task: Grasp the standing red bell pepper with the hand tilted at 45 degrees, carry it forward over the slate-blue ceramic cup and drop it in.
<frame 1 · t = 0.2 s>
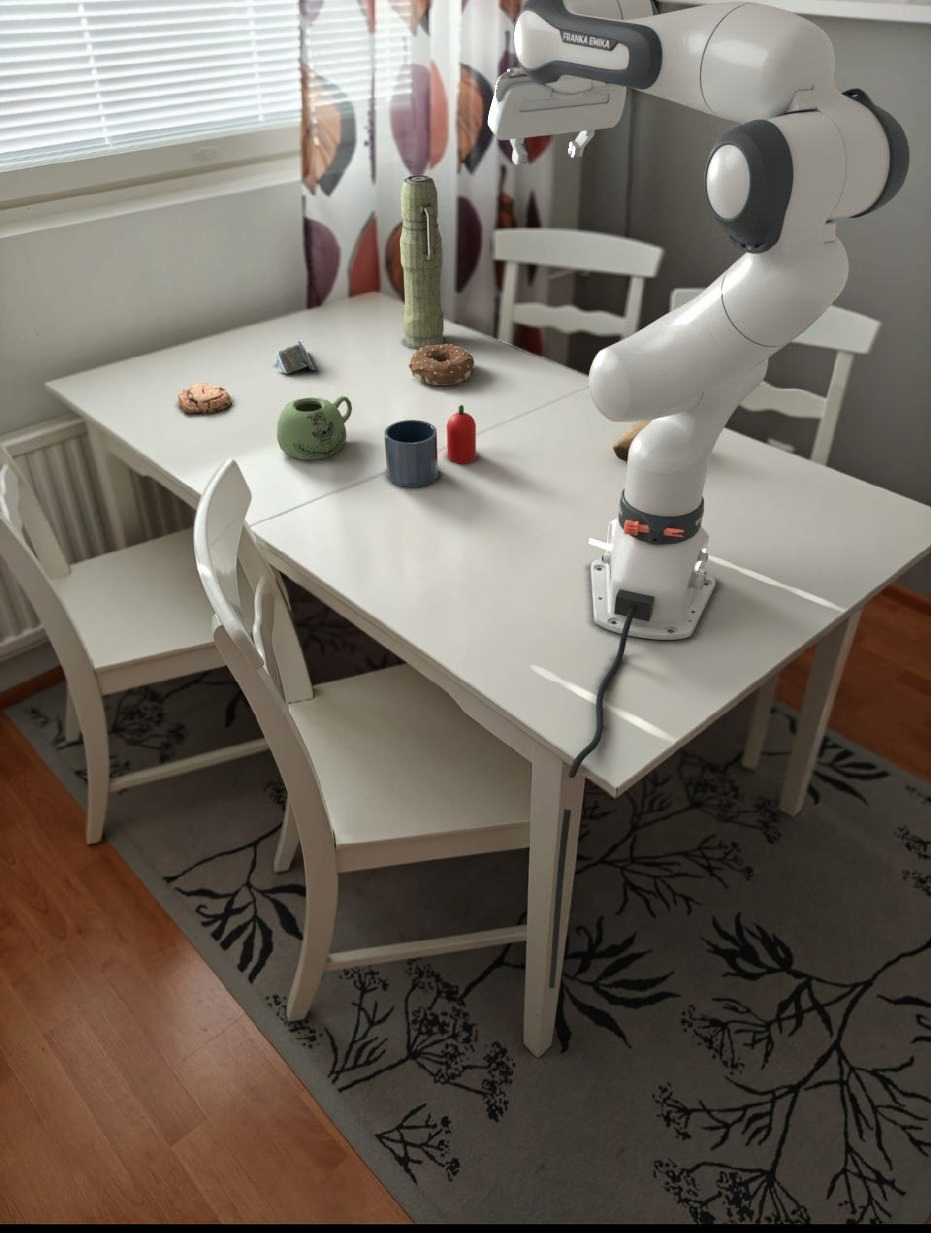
hand: (546, 158, 147), 52 cm above the table, tool tilted 20°, fingers open, 8 cm apart
pepper: (461, 456, 183), on the table
mug: (319, 445, 187), on the table
cookie: (205, 404, 201), on the table
cup: (412, 474, 178), on the table
grey blocky piece: (293, 365, 216), on the table
vegetable: (652, 458, 182), on the table
donut: (442, 377, 211), on the table
thermos: (424, 342, 226), on the table
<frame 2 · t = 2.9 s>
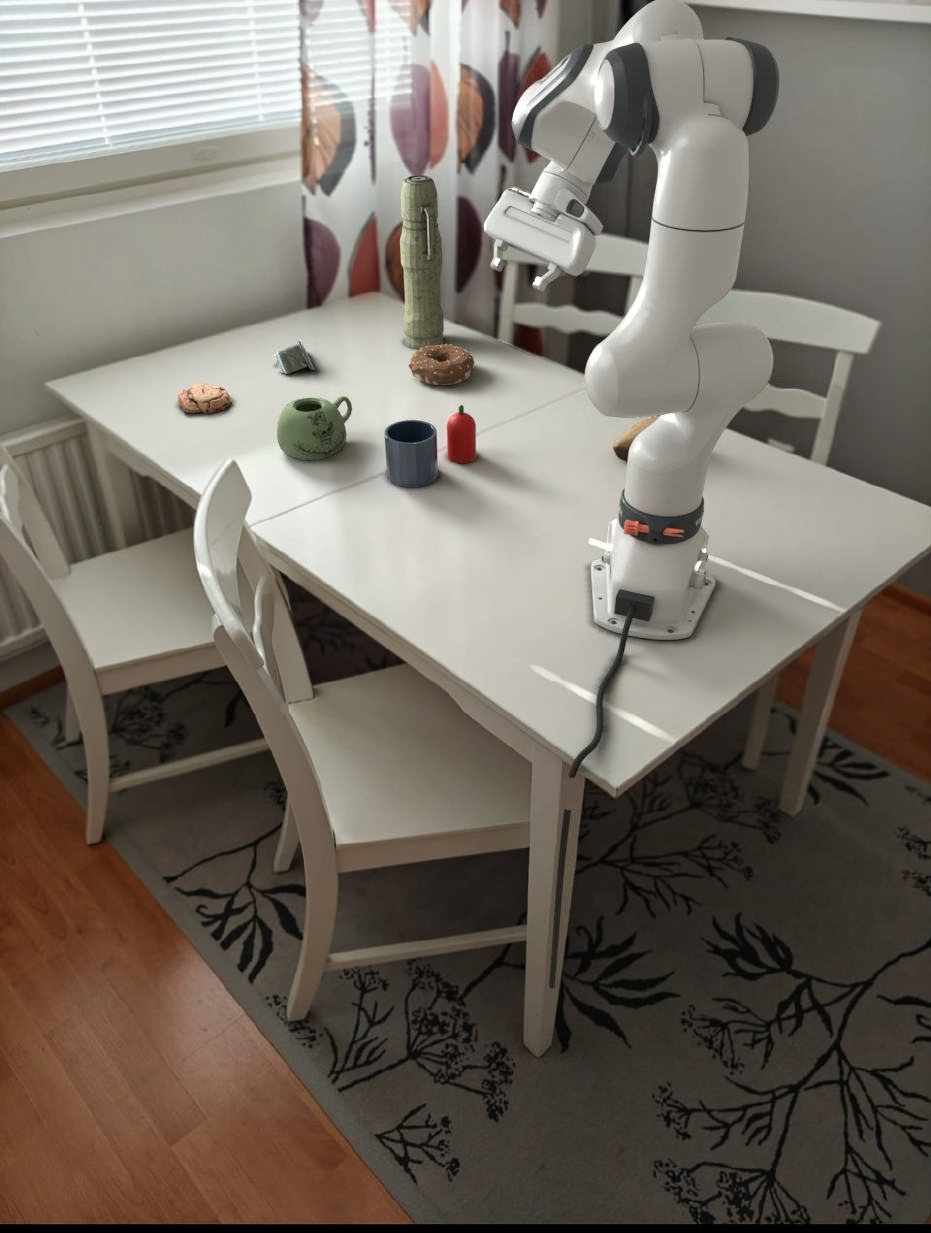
hand: (515, 279, 169), 30 cm above the table, tool tilted 40°, fingers open, 8 cm apart
nothing on the table moved.
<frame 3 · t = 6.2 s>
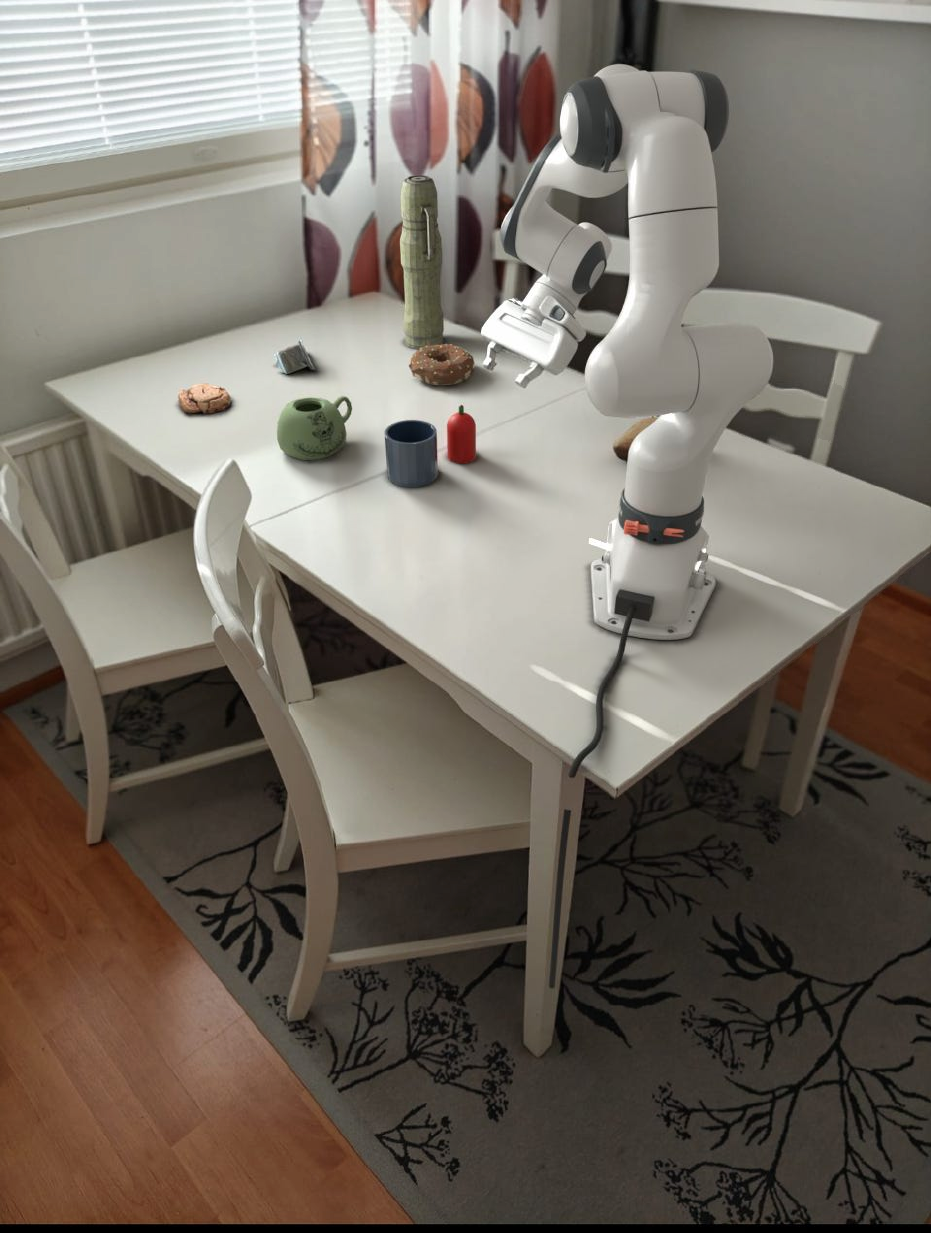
hand: (502, 376, 179), 13 cm above the table, tool tilted 45°, fingers open, 8 cm apart
nothing on the table moved.
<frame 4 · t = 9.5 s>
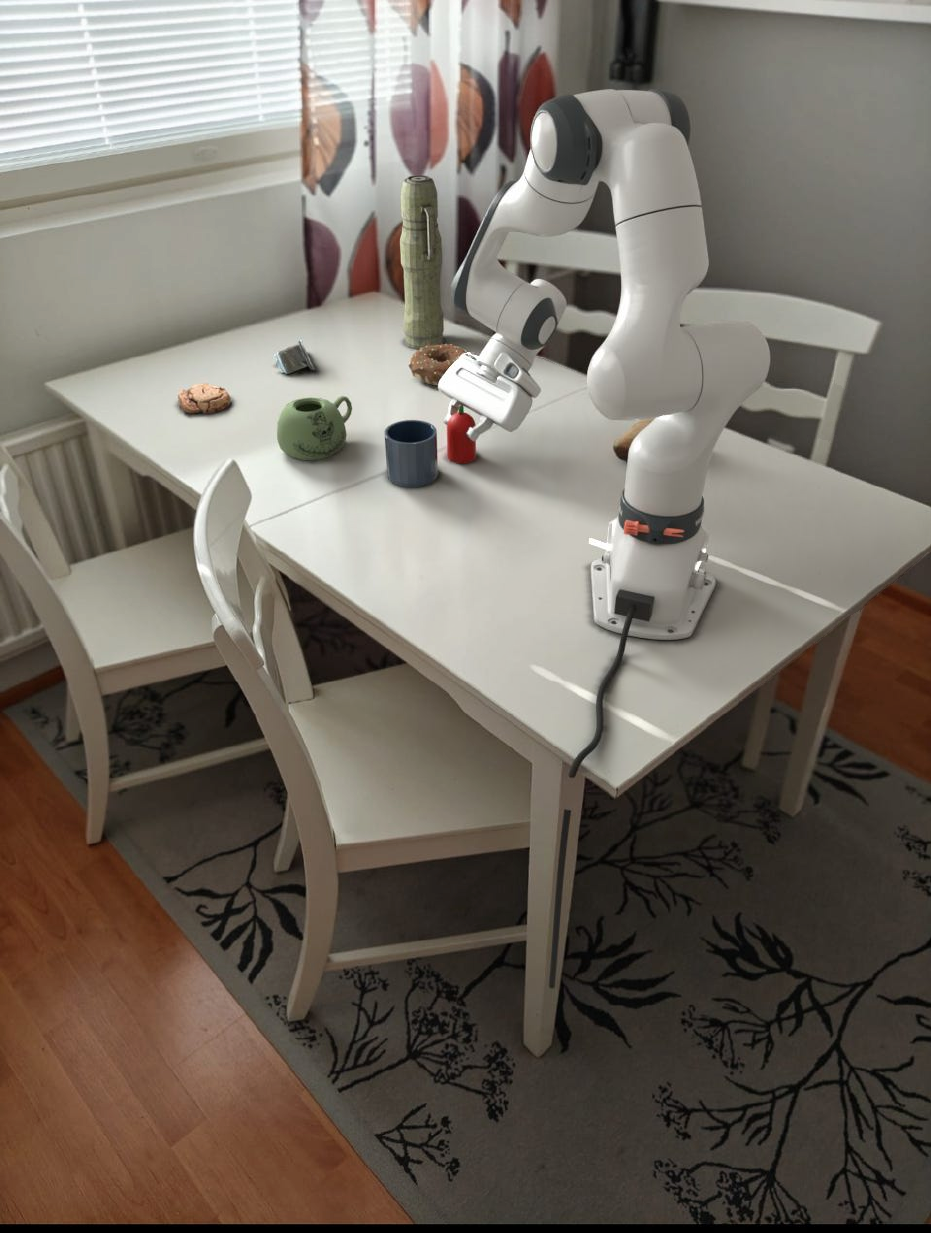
hand: (458, 432, 179), 5 cm above the table, tool tilted 45°, fingers closed on pepper, 5 cm apart
pepper: (461, 456, 183), on the table, touching gripper
everything else where it was.
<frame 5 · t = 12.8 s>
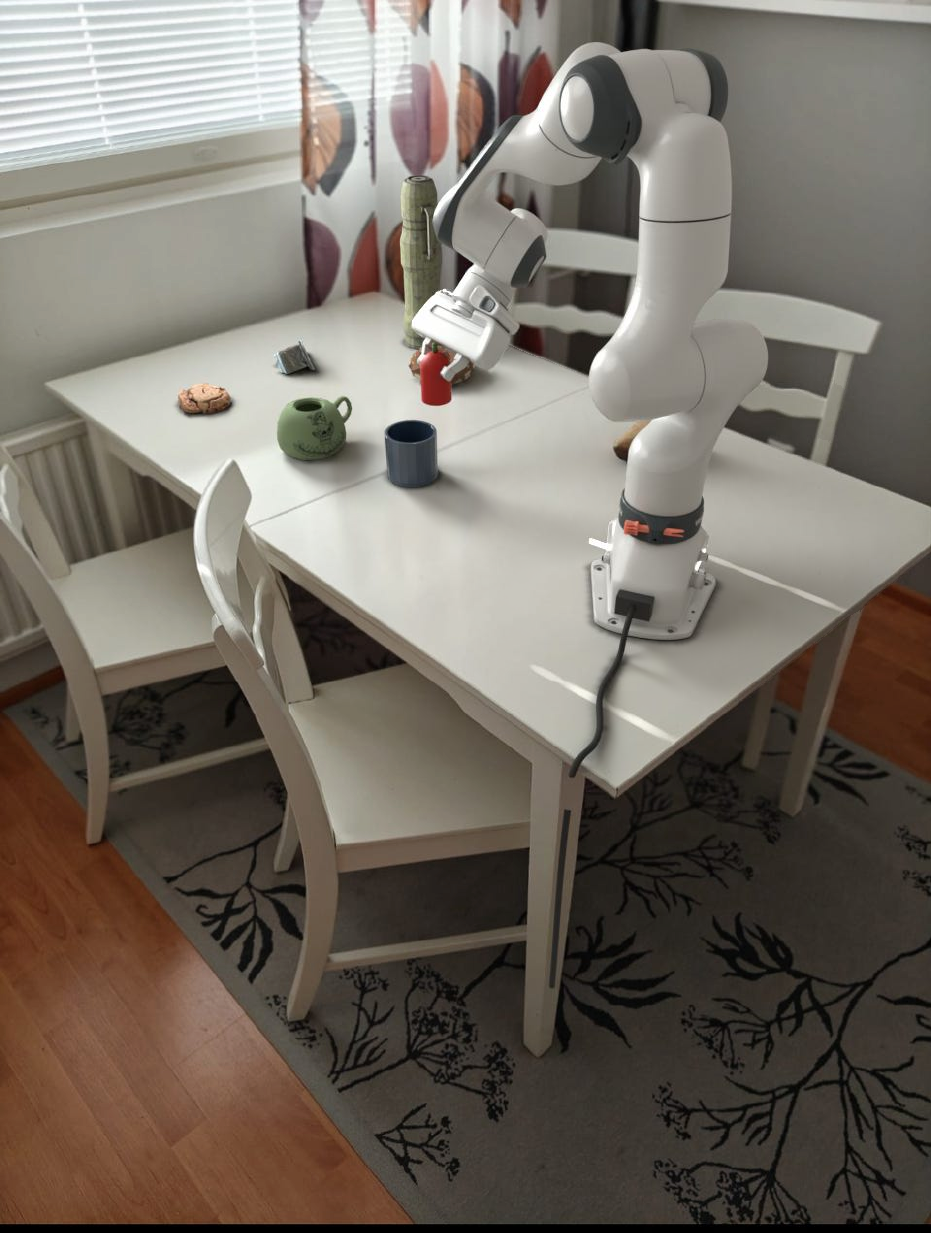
hand: (432, 372, 169), 18 cm above the table, tool tilted 45°, fingers closed on pepper, 5 cm apart
pepper: (436, 399, 172), point 13 cm above the table, touching gripper
everything else where it was.
when the fingers open (11 cm above the table, at t = 16.3 s): pepper drops 5 cm, resting on cup.
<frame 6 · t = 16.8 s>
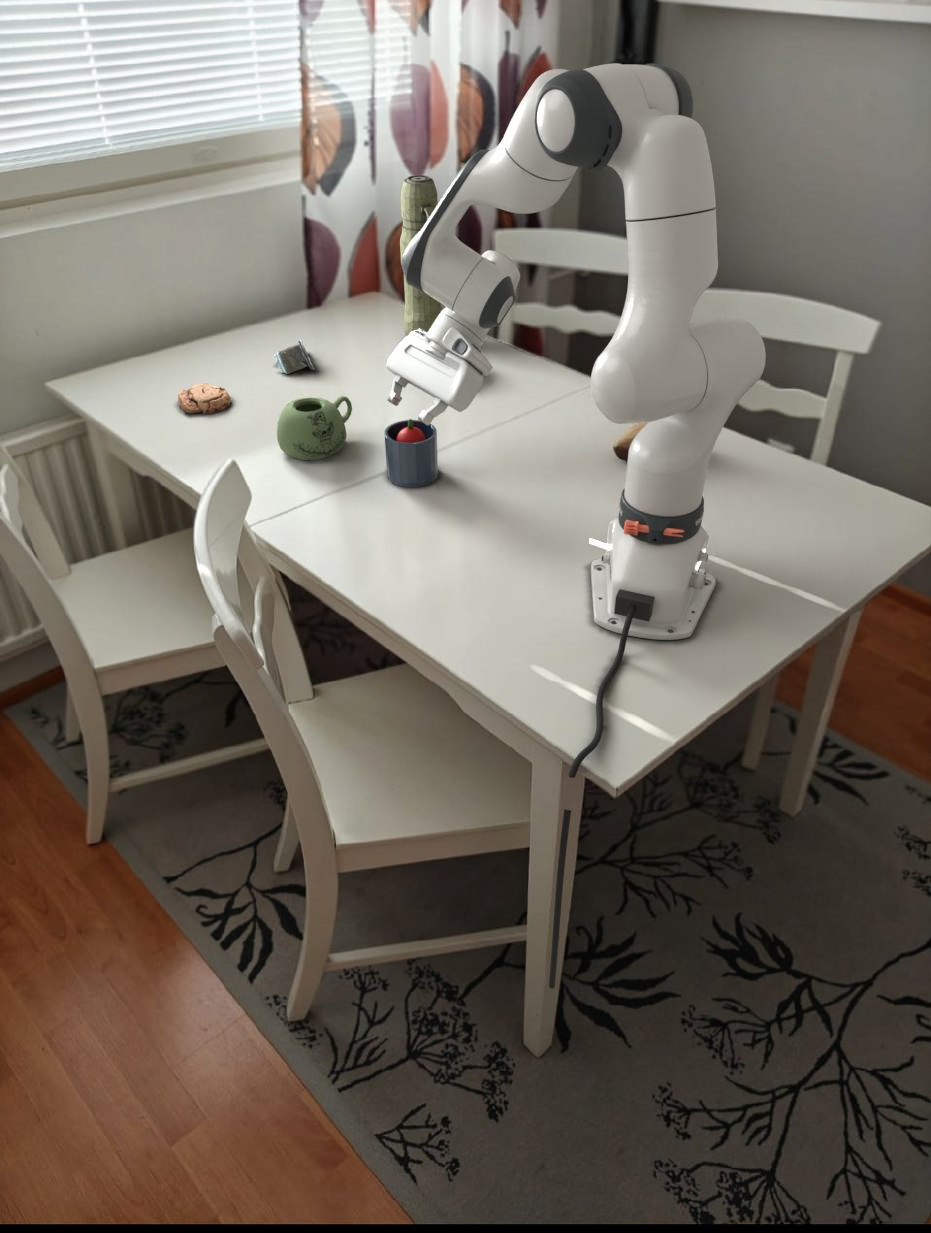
hand: (406, 412, 170), 12 cm above the table, tool tilted 45°, fingers open, 8 cm apart
pepper: (412, 471, 177), point 1 cm above the table, touching cup
everything else where it was.
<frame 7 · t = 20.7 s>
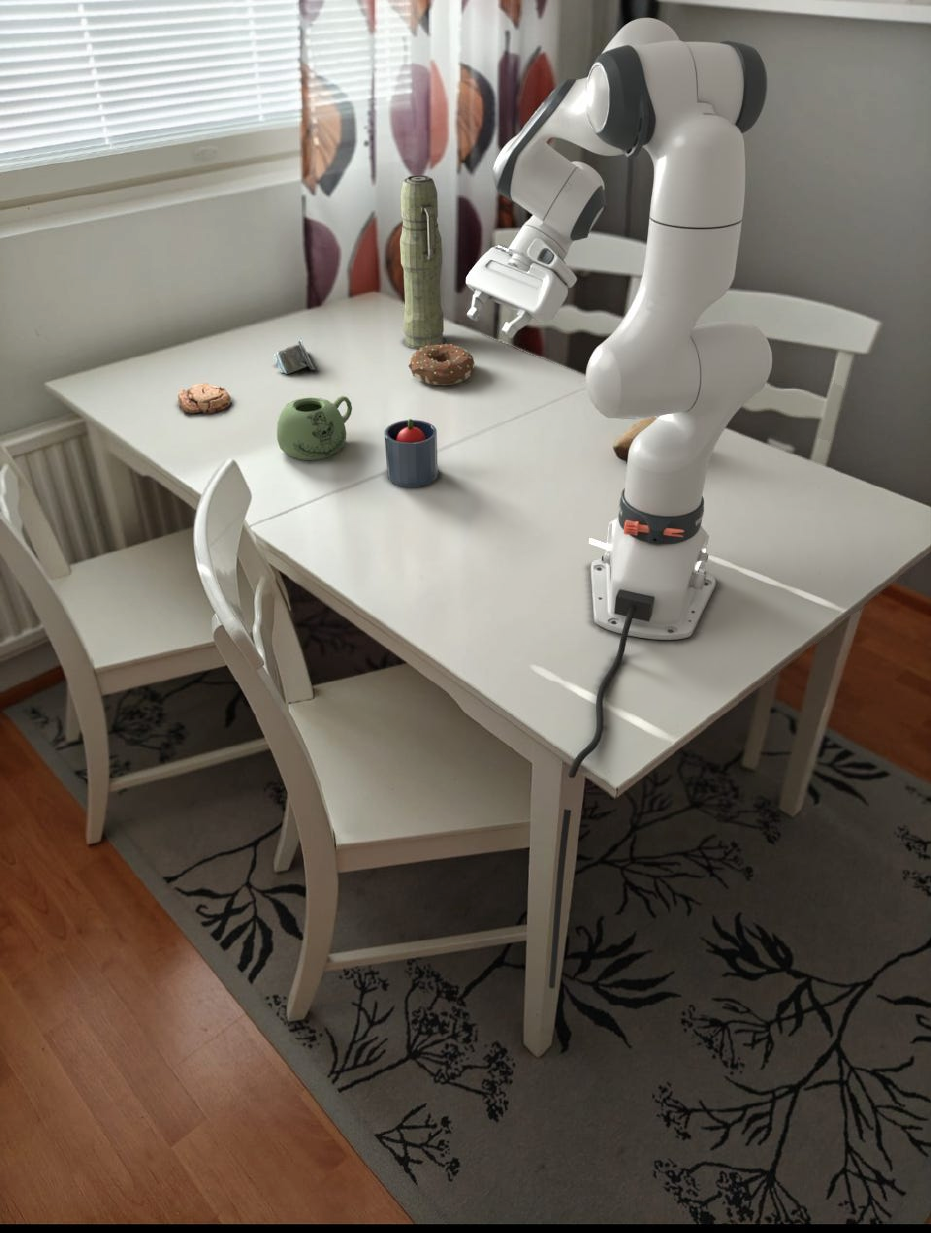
hand: (488, 326, 169), 24 cm above the table, tool tilted 45°, fingers open, 8 cm apart
nothing on the table moved.
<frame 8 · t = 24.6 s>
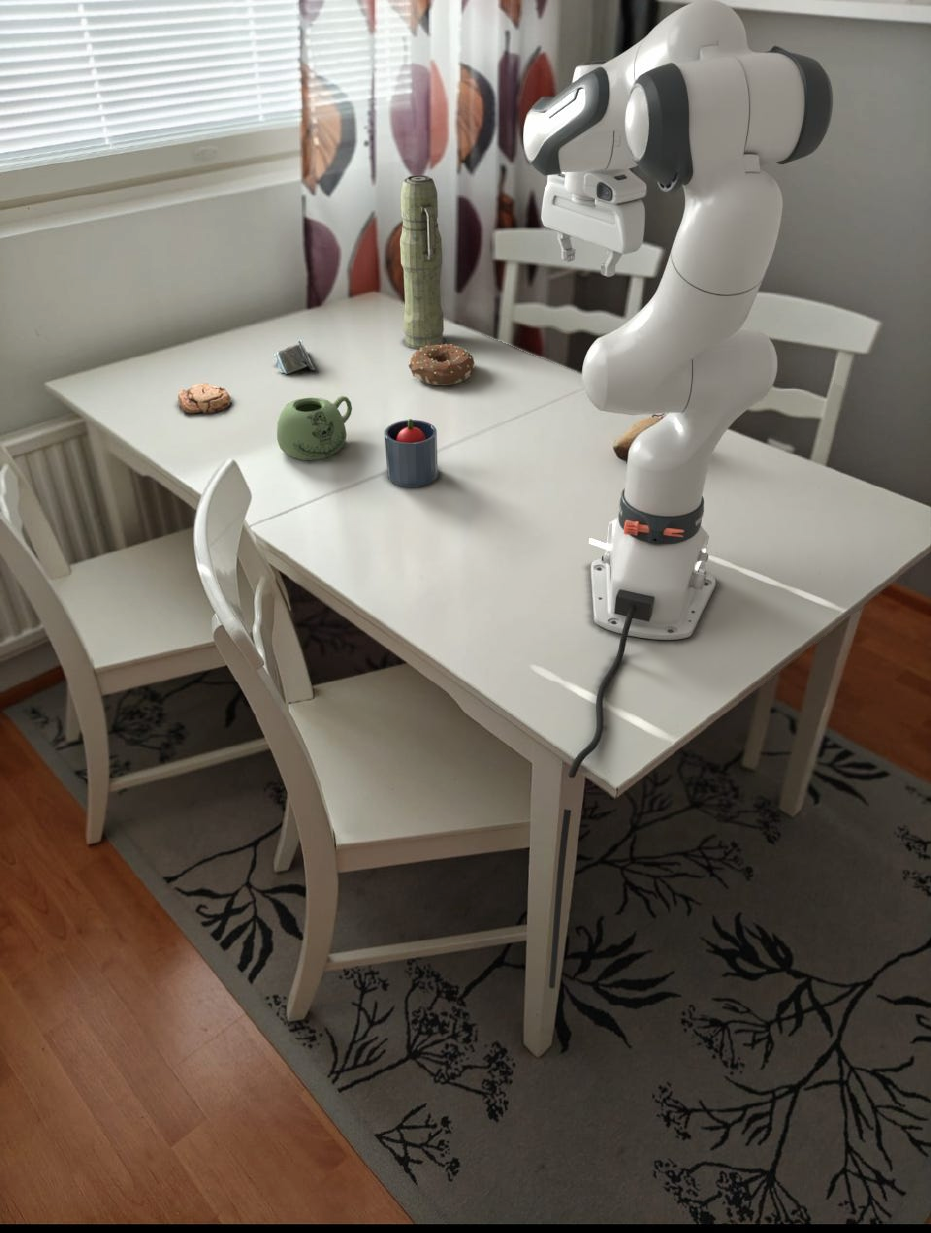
hand: (587, 267, 162), 34 cm above the table, tool pointing down, fingers open, 8 cm apart
nothing on the table moved.
at the end: pepper 0.1 cm off-centre in the cup, point 0.6 cm above the cup's base; the gripper is holding nothing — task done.
